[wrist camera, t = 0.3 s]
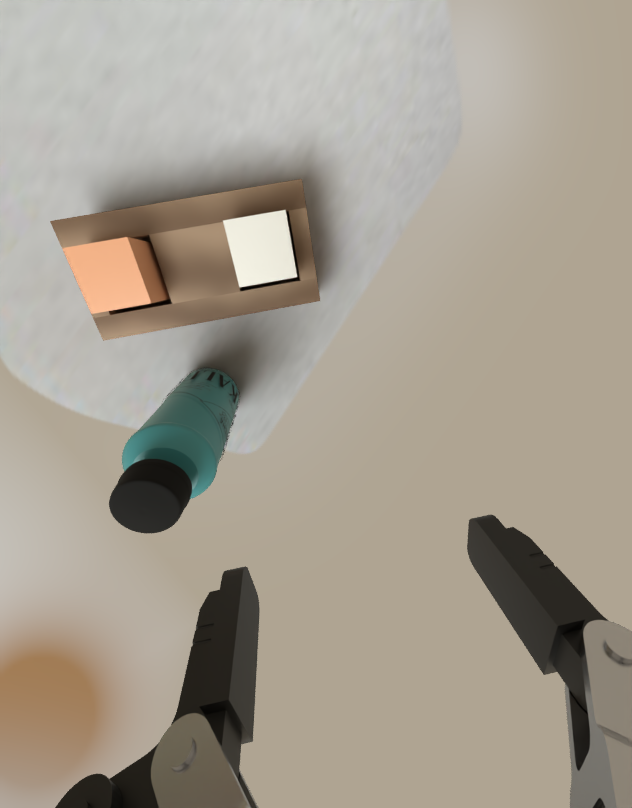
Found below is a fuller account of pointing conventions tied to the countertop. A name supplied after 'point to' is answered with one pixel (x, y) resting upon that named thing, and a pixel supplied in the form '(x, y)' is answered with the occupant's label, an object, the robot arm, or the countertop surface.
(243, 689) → the robot arm
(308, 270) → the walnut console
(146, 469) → the beverage bottle
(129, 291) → the terracotta plug
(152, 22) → the countertop surface
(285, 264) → the white plug
